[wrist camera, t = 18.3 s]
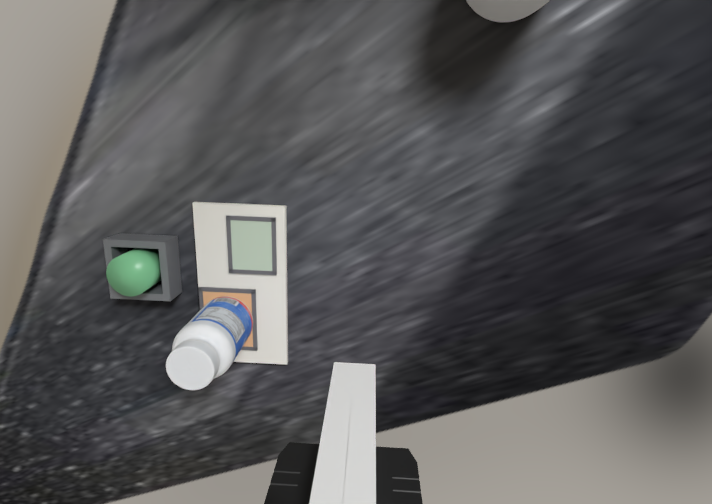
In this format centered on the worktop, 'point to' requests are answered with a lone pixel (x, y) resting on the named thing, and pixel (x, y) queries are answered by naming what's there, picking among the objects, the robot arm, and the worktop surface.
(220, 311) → the pill bottle
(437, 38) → the worktop surface
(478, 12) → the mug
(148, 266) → the button
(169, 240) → the button frame
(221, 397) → the worktop surface
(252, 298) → the white rectangular board
